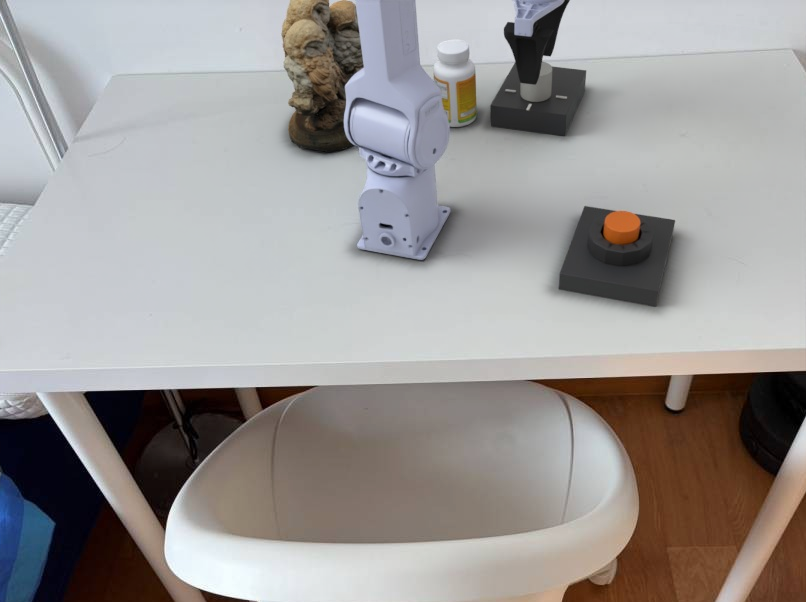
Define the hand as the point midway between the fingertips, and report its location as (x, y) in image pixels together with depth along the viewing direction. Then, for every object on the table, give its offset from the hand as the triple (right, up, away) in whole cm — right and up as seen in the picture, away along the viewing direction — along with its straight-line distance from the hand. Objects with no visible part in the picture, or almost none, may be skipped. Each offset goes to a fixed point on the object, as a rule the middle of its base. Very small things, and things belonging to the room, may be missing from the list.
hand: (536, 68), depth 100 cm
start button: (+7, -25, -18) cm, 31 cm away
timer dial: (0, -2, +3) cm, 4 cm away
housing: (+7, -27, -16) cm, 32 cm away
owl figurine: (-26, -5, +6) cm, 27 cm away
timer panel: (+1, -3, +6) cm, 7 cm away
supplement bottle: (-10, -5, +6) cm, 12 cm away
